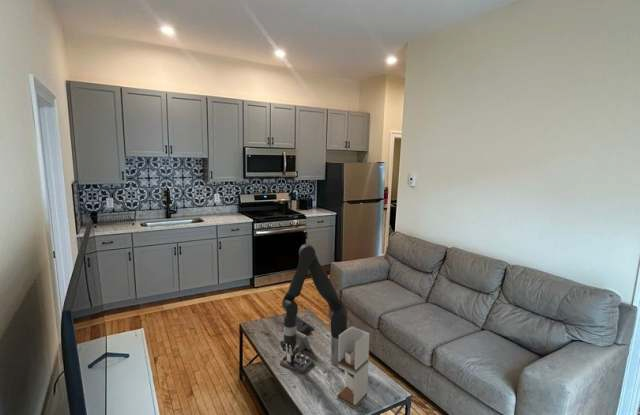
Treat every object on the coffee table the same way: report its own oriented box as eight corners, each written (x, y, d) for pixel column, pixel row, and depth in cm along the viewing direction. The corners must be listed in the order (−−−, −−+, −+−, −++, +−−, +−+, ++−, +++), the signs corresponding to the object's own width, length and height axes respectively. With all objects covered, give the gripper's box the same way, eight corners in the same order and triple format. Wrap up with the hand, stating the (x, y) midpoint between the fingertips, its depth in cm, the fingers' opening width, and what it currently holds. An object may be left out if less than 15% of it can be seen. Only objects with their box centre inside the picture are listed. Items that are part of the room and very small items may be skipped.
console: (314, 362, 199) (314, 357, 198) (302, 374, 189) (302, 368, 188) (292, 354, 207) (292, 348, 206) (280, 364, 197) (279, 359, 196)
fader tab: (294, 358, 198) (294, 350, 198) (290, 362, 195) (290, 354, 194) (290, 357, 200) (290, 349, 199) (286, 360, 196) (286, 353, 195)
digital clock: (311, 350, 212) (312, 334, 210) (300, 355, 206) (300, 339, 204) (297, 338, 224) (297, 323, 222) (286, 343, 219) (285, 328, 217)
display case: (350, 386, 179) (351, 325, 173) (367, 395, 173) (369, 333, 167) (337, 398, 171) (338, 335, 164) (354, 408, 164) (356, 343, 158)
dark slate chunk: (299, 318, 252) (299, 312, 251) (315, 331, 234) (315, 324, 233) (281, 324, 243) (280, 317, 242) (296, 338, 225) (296, 331, 225)
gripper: (303, 332, 194) (303, 359, 197) (284, 325, 201) (284, 352, 204) (296, 338, 188) (296, 366, 191) (276, 331, 195) (277, 358, 198)
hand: (290, 358), depth 197 cm, fingers closed on fader tab, 2 cm apart
